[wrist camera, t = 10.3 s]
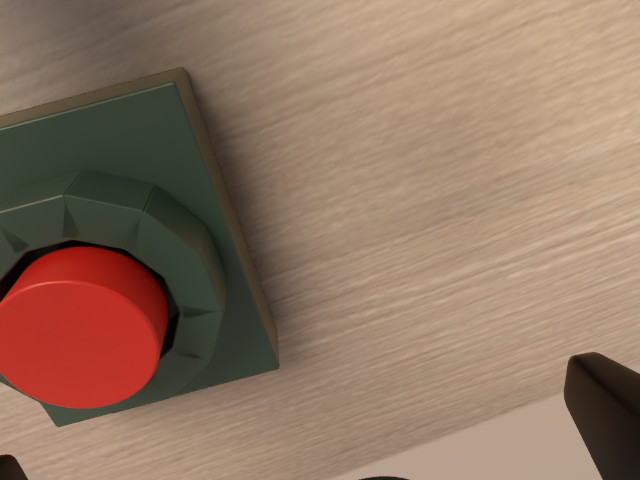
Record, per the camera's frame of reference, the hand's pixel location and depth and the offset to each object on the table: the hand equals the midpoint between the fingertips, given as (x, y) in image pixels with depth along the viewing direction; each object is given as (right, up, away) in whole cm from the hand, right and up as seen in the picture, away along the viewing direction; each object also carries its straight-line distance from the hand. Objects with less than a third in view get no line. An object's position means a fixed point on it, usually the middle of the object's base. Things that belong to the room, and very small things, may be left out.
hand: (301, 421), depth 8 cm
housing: (-6, +3, +9) cm, 11 cm away
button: (-6, +1, +6) cm, 8 cm away
